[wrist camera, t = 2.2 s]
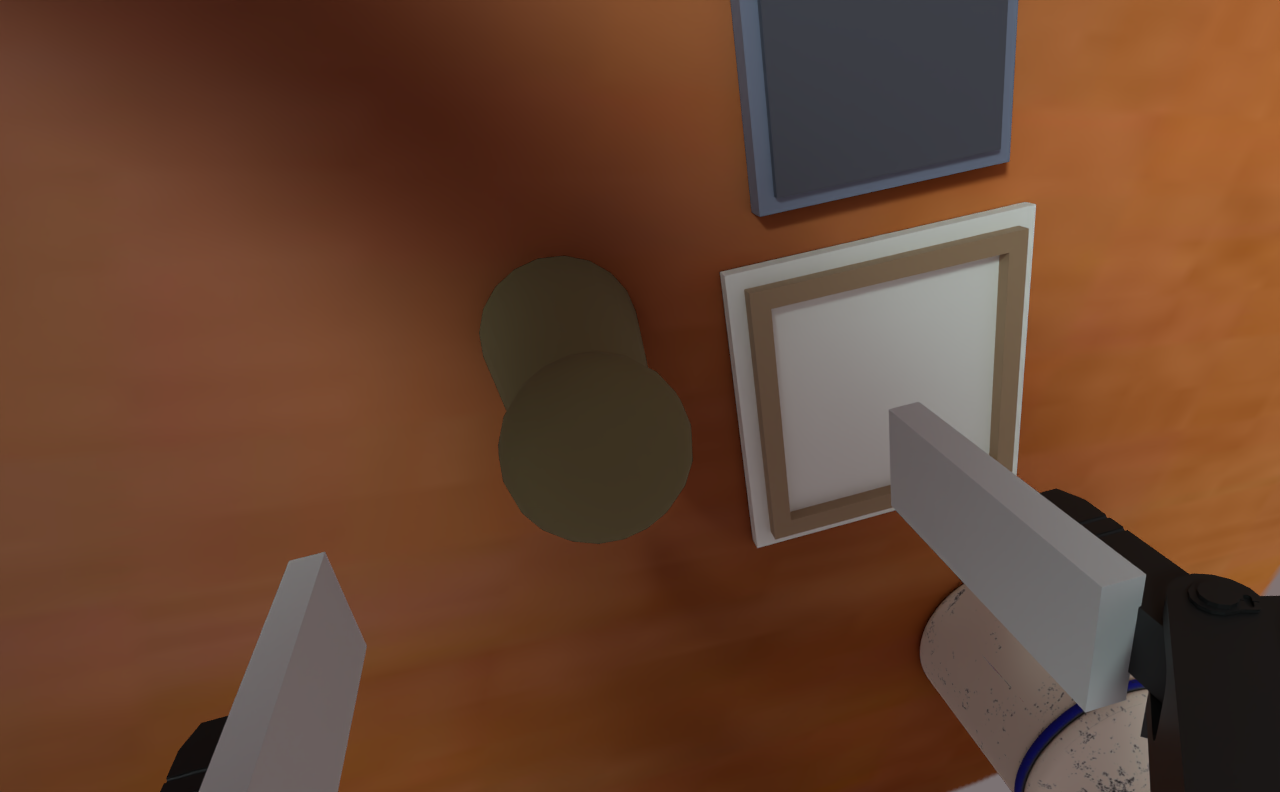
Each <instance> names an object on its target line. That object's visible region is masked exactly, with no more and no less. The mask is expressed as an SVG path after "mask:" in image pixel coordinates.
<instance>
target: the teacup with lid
mask: <svg viewBox="0 0 1280 792" xmlns="http://www.w3.org/2000/svg"><path fill="white" fill-rule="evenodd" d="M920 660H921V664H922V668H923V670H924V672H925V674H926V676H927V677H928V679H929V680H930V682H931V683H932V684H933V686H934V687H935V688H936V690H937V691H938V692H939V694H940V695H941V697H942V698H943V699H944V701H945V702H946V703H947V705H948V706H949V707H950V709H951V710H952V711H953V713H954V714H955V715H956V717H957V718H958V720H959V721H960V722H961V724H962V725H963V726H964V728H965V729H966V730H967V732H968V733H969V734H970V736H971V737H972V738H973V740H974V741H975V743H976V744H977V745H978V747H979V748H980V749H981V751H982V752H983V753H984V755H985V756H986V757H987V759H988V760H989V761H990V763H991V764H992V766H993V767H994V768H995V770H996V771H997V772H998V774H999V775H1000V776H1001V778H1002V779H1003V780H1004V782H1005V783H1006V784H1007V786H1008V787H1009V788H1010V790H1011V791H1012V792H1150V774H1149V754H1148V739H1147V738H1144V737H1140V735H1141V730H1142V724H1143V719H1144V713H1145V708H1146V702H1147V697H1148V690H1147V689H1146V688H1145V687H1144V686H1143V685H1142V684H1140V683H1139V682H1138V681H1137V680H1136V679H1135V678H1134V677H1133V676H1132V675H1131V674H1130V677H1129V683H1128V689H1127V695H1126V700H1125V701H1121V702H1118V703H1115V704H1112V705H1108V706H1105V707H1102V708H1099V709H1095V710H1092V711H1089V712H1086V713H1085V712H1084V711H1083V709H1082V708H1081V707H1080V706H1079V705H1078V704H1077V703H1076V702H1075V701H1074V700H1073V699H1072V698H1071V697H1070V696H1069V695H1068V693H1067V692H1066V691H1065V690H1064V689H1063V688H1062V687H1061V686H1060V685H1059V684H1058V683H1057V682H1056V681H1055V680H1054V679H1053V677H1052V676H1051V675H1050V674H1049V673H1048V672H1047V671H1046V670H1045V669H1044V668H1043V667H1042V666H1041V665H1040V664H1039V663H1038V662H1037V660H1036V659H1035V658H1034V657H1033V656H1032V655H1031V654H1030V653H1029V652H1028V651H1027V650H1026V649H1025V648H1024V647H1023V646H1022V644H1021V643H1020V642H1019V641H1018V640H1017V639H1016V638H1015V637H1014V636H1013V635H1012V634H1011V633H1010V632H1009V631H1008V630H1007V628H1006V627H1005V626H1004V625H1003V624H1002V623H1001V622H1000V621H999V620H998V619H997V618H996V617H995V616H994V615H993V614H992V612H991V611H990V610H989V609H988V608H987V607H986V606H985V605H984V604H983V603H982V602H981V601H980V600H979V599H978V598H977V597H976V595H975V594H974V593H973V592H972V591H971V590H970V589H969V588H968V587H967V586H966V585H965V584H963V585H961V586H960V587H958V588H957V589H956V590H955V591H953V592H952V593H951V594H950V595H949V596H948V597H947V598H946V599H945V600H944V601H943V602H942V603H941V604H940V605H939V606H938V608H937V609H936V610H935V612H934V613H933V615H932V616H931V618H930V619H929V621H928V623H927V625H926V627H925V630H924V632H923V635H922V639H921V645H920Z"/></svg>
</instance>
